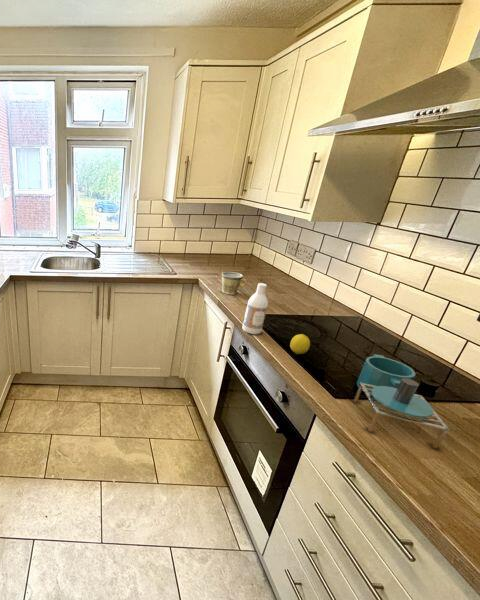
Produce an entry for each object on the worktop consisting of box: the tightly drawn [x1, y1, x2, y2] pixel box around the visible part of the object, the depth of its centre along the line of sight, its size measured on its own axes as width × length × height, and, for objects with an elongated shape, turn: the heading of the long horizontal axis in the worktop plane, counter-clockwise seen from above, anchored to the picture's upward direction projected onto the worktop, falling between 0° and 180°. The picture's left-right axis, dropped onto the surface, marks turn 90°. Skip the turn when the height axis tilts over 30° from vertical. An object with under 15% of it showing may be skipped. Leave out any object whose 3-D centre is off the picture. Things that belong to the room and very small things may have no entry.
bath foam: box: [241, 282, 269, 335], centre depth 124 cm, size 7×7×20 cm
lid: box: [371, 378, 434, 419], centre depth 78 cm, size 11×11×7 cm
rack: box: [352, 383, 451, 449], centre depth 80 cm, size 13×13×6 cm
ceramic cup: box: [221, 271, 248, 296], centre depth 165 cm, size 13×10×10 cm
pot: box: [356, 353, 416, 397], centre depth 92 cm, size 10×16×8 cm, turn 155°
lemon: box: [289, 333, 311, 355], centre depth 110 cm, size 6×6×8 cm
